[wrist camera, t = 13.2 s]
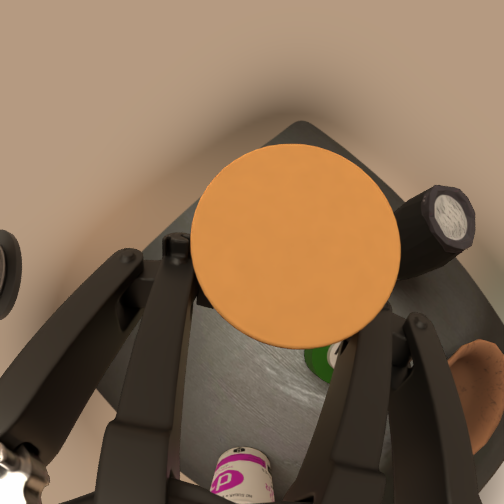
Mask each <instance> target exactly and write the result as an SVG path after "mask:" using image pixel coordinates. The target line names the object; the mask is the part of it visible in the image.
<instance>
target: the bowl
mask: <svg viewBox="0 0 504 504" xmlns="http://www.w3.org/2000/svg"><path fill="white" fill-rule="evenodd" d="M447 361H448V364H449V367H450V370H451V373H452V375H453V378H454V381H455V385H456V388H457V391H458V394H459V397H460V401H461V404H462V408H463V412H464V415H465V419H466V423H467V427H468V432H469V436H470V441H471V446H472V451H473V455H474V454H475V453H476V452H477V451H478V450H479V449H481V448H482V447H483V446H484V445H485V444H486V443H487V441H488V440H489V438H490V437H491V435H492V434H493V432H494V430H495V429H496V427H497V426H498V424H499V422H500V419H501V417H502V414H503V411H504V355H503V353H502V352H501V351H500V349H499V348H498V347H497V346H496V344H495V343H491V342H488V341H484V340H481V339H478V340H475V341H473V342H470V343H468V344H465V345H463V346H461V347H460V348H459V349H458V350H457V351H456V352H455V353H454V354H453V355H452V356H451V357H450V358H449V359H448V360H447Z"/></svg>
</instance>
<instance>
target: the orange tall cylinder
mask: <svg viewBox="0 0 504 504" xmlns="http://www.w3.org/2000/svg"><path fill="white" fill-rule="evenodd" d="M190 244H191V257H192V262H193V267H194V270H195V273H196V277H197V280H198V282H199V284H200V286H201V288H202V290H203V292H204V294H205V296H206V297H207V299H208V300H209V302H210V303H211V305H212V306H213V307H214V308H215V309H216V311H217V312H218V313H219V314H220V315H221V316H222V317H223V318H224V319H225V320H226V321H227V322H228V323H230V324H231V325H232V326H233V327H234V328H236V329H237V330H239V331H241V332H242V333H244V334H245V335H247V336H249V337H251V338H253V339H255V340H257V341H260V342H262V343H265V344H268V345H272V346H275V347H280V348H287V349H314V348H320V347H325V346H329V345H332V344H335V343H338V342H340V341H343V340H345V339H347V338H349V337H351V336H353V335H354V334H356V333H357V332H359V331H360V330H362V329H363V328H364V327H365V326H366V325H368V324H369V323H370V322H371V321H372V320H373V319H374V318H375V317H376V315H377V314H378V313H379V312H380V311H381V309H382V308H383V307H384V305H385V303H386V302H387V300H388V298H389V297H390V294H391V292H392V290H393V288H394V285H395V282H396V279H397V275H398V272H399V266H400V258H401V244H400V236H399V230H398V226H397V222H396V219H395V216H394V214H393V211H392V208H391V207H390V205H389V203H388V201H387V199H386V197H385V196H384V194H383V193H382V191H381V190H380V188H379V187H378V186H377V185H376V183H375V182H374V181H373V180H372V179H371V178H370V177H369V176H368V175H367V174H366V173H365V172H364V171H363V170H362V169H360V168H359V167H358V166H356V165H355V164H354V163H352V162H351V161H349V160H347V159H345V158H344V157H342V156H340V155H338V154H336V153H333V152H331V151H328V150H325V149H322V148H319V147H314V146H309V145H302V144H279V145H273V146H267V147H264V148H260V149H257V150H254V151H252V152H249V153H247V154H245V155H243V156H241V157H239V158H238V159H236V160H234V161H233V162H232V163H230V164H229V165H228V166H226V167H225V168H224V169H223V170H222V171H221V172H220V173H219V174H218V175H217V176H216V177H215V178H214V179H213V180H212V182H211V183H210V184H209V185H208V187H207V188H206V190H205V192H204V193H203V195H202V197H201V199H200V201H199V203H198V206H197V208H196V211H195V214H194V218H193V222H192V227H191V236H190Z"/></svg>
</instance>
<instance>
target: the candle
mask: <svg viewBox="0 0 504 504" xmlns="http://www.w3.org/2000/svg"><path fill="white" fill-rule="evenodd" d="M340 343H341V341H340V342H338V343H335V344H332V345H329V346H325V347H320V348H314V349H305V350H304V357H305V362H306V364H307V366H308V368H309V369H310V370H311V371H312V372H313V373H314V374H315V375H317V376H318V377H319V378H321V379H322V380H323V381H325V382H327V383H329V384H330V381H331V378H332V374H333V371H334V367H335V363H336V359H337V355H338V353H337V355H335V354H334V353H335V352H336V350H337V348H338V347H339V345H340Z"/></svg>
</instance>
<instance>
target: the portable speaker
mask: <svg viewBox="0 0 504 504" xmlns="http://www.w3.org/2000/svg"><path fill="white" fill-rule="evenodd" d="M393 214H394V216H395V219H396V222H397V226H398V230H399V236H400V244H401V258H400V266H399V272H398V275H397V279H396V281H397V280H404V279H409V278H413V277H416V276H419V275H422V274H424V273H427V272H430V271H432V270H435V269H437V268H440V267H442V266H444V265H445V264H447V263H448V262H449V261H451V260H452V259H453V258H455V257H456V256H457V255H458V254H460V253H462V251H464V250H465V249H467V248H469V247H470V246H472V243H473V239H474V234H475V212H474V209H473V207H472V205H471V203H470V201H469V199H468V197H467V196H466V195H465V194H464V193H463V192H462V191H461V190H460V189H457V188H454V187H448V186H441V185H434V186H433V187H432V188H430V189H428V190H426V191H424V192H422V193H420V194H419V195H417V196H415V197H413V198H411V199H409V200H408V201H407V202H405V203H404V204H403V205H402V206H401V207H400V208H398V209H397V210H396V211H395V212H394V213H393Z"/></svg>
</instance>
